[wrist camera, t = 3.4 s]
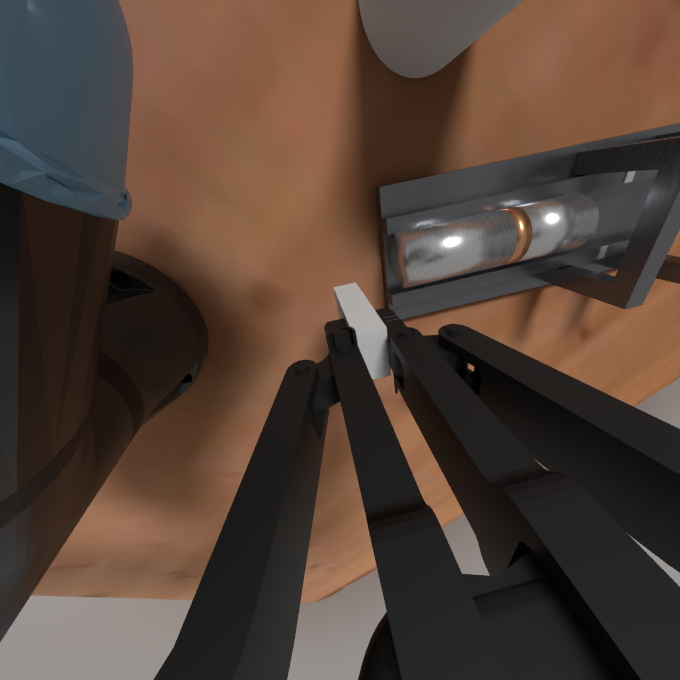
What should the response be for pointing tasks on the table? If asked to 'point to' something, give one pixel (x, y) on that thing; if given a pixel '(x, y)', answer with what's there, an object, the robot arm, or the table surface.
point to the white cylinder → (427, 30)
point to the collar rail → (540, 184)
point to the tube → (492, 239)
